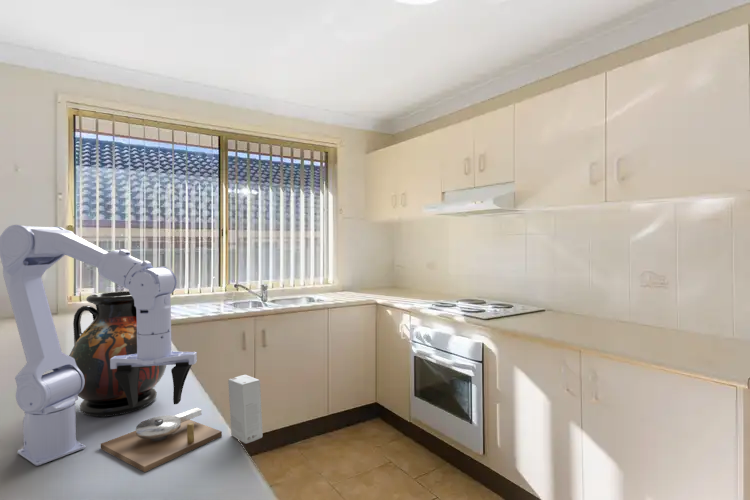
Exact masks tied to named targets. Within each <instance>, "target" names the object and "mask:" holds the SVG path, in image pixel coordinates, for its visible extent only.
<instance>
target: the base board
mask: <svg viewBox="0 0 750 500" xmlns="http://www.w3.org/2000/svg"><path fill="white" fill-rule="evenodd" d="M222 432H223V431H221V430H219V429H217V428H214V427H211V426H208V425H205V424H203V423H199V422H197V421H194V420H192V419H190V420H187V421H185V422H182V423H181V427H180V428H179V429H178V430H177V431H176V432H174V433H172V434H170V435H167V436H163V437H159V438H153V439H143V438H139V437H137V436H136V430H134V431H130V432H128V433H126V434H123V435H120V436H117V437H115V438H112V439H110V440H107V441H105V442H102V443H100V450H102V451H104V452H106V453H108V454H110V455H111V456H114V457H115V458H117V459H119V460H120V461H123V462H125V463H127V464H129V465H131V466H132V467H134V468H136V469H138V470H140V471H141V472H144V473H146V472H148V471H150V470H153V469H155V468H156V467H158V466H161V465H163V464H165V463H167V462H169V461H171V460H174V459H176V458H179V457H180V456H182V455H184V454H185V455H186V454H187V453H189V452H190V451H194V450H195V449H197V448H200V447H201V446H204V445H206V444H208V443H210V442H212V441H215V440H217V439H218V438H220V437H222V435H223V433H222Z"/></svg>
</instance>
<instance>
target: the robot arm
mask: <svg viewBox="0 0 750 500" xmlns="http://www.w3.org/2000/svg"><path fill="white" fill-rule="evenodd" d="M65 256H67V257H70V258H72V259H75V260H78V261H80V262H83V263H85V264H88V265H89V266H93V267H96V268H97V272H98V274H99V276H100V277H101V278H103V279H105V280H108V281H110V282H112V283H114V284H116V285H118V286H120V287H122V288H124V289H125V290H126V289H127V291H129V292H130V294H131V296H132V297H133V298H134V306H135V307H136V316H137V354H131V355H122V356H114V357H112V358H111V359H110V369H117V372H115V373H114V375H115V378H116V379H117V380H118V382H119V383H120V385H121V386H122V388H123V390H124V392H125V394H126V397H127V400H128V404H129V407H134V406H135V405H136V404H137V402H138V390H137V380H138V370H139V366H157V365H166V366H170V365H171V366H172V365H175V366H173V367H172V368H171V370H170V371H171V372H170V373H171V377H172V384H173V385H172V386H173V396H172V398H173V399H172V401H173V405H178V404H179V403H180V401H181V400H182V393H183V389H184V385H185V381H186V379H187V376H188V374H189V372H190V370H191V368H192V365H195V364H196V363H197V361H198V357H197V356H198V354H197V353H198V352H197V351H174V350H173V351H172V308H171V307H172V301H171V300H172V299H171V297H172V295H171V294H173V292H175V290H176V288H177V284H178V282H177V281H178V280H177V277H176V274H175V273H174V272H173V271H172V270H171V269H170V268H168V267H167V266H164V265H162V266H157V267H154V266H153V265H152V262H150V261H149V260H141V259H138V258H137V257H134V256H132V255H131V251H129V250H127V249H120V250H119V249H115V250H111V251H109V252H108V251H107V250H105V249H103V248H101V247H99V246H97V245H96V244H94V243H92V242H90V241H88V240H86V239H84V238H82V237H80V236H78V235H77V234H75V232H74V231H72V230H68V229H65V228H64V227H62V226H61V227H60V226H58V225H57V226H55V225H54V226H39V225H38V226H36V225H34V226H33V225H22V224H12V225H9V226H8V227H6V228H4V230H3V232H2V233H1V235H0V261H1V264H2V274H3V279H4V280H3V281H4V284H5V287H6V290H7V294H8V299H9V301H10V305H11V308H12V309H11V310H12V314H13V317H14V320H15V323H16V327H17V331H18V335H19V338H20V342H21V346H22V349H23V354H24V357H25V360H26V362H25V365H24V366H23V367H22V368H21V369H20V370H19V372H17V374H16V375H15V377H14V379H15V383H16V391H15V400H16V403H17V406H18V407H19V408H20V409H21V410H22V411H23V412H24V416H23V420H22V424H23V425H22V427H23V428H22V430H23V448H21V449H18V450H17V454H19V455H20V456H21V457H23V458H24V459H26V460H27V461H29V463H31V464H33V465H34V466H36V467H38V466H41V465H44V464H46V463H48V462H51V461H54V460H55V461H56V460H57V459H60V458H62V457H64V456H65V457H66V456H68V455H70V454H73V453H75V452H79V451H81V450H85V448H86V445H85V444H83V443H81V442H80V441H78V440H77V428H76V427H77V422H76V419H77V418H76V401H77V400H79V396H78V394H79V393H80V392H81V391H82V390H83V388H84V384H85V379H84V375H83V373H82V372H81V371H80V369H79V368H78V367H77V365H76V362H75V359H74V358H72V357H70V356H69V355H68V354H66V353H64V352H63V351H62V348H61V344H60V341H59V336H58V334H57V330H56V325H55V323H54V319H53V315H52V312H51V311H52V310H51V308H50V304H49V300H48V297H47V292H46V289H45V286H44V282H43V278H42V277H43V275H44V273H45V272H46V271H47V270H49V269H50V268H51V267H53V266H54V265H55V264H56V263H58V261H60V260H61V259H62V258H64V257H65ZM49 371H51V372H49ZM46 372H47V373H46Z"/></svg>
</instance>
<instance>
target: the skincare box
mask: <svg viewBox="0 0 750 500" xmlns="http://www.w3.org/2000/svg"><path fill="white" fill-rule="evenodd" d="M227 382H228V383H227V384H228V398H229V399H228V400H229V402H228V403H229V417H230V418H229V420H230V433H231V434H230V435H231V437H234V438H235V439H237V440H239V441H240V442H242V443H243V444H249V443H252V442H255V441H257V440H260V439H262V438H263V434H264V433H263V418H262V417H263V416H262V413H263V412H262V396H261V395H262V394H261V380H260V379H258V378H255V377H253V376H250V375H247V374H243V375H242V374H241V375H237V376H235V377H231V378H229V379H228V381H227Z"/></svg>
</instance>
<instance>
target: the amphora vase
mask: <svg viewBox="0 0 750 500" xmlns="http://www.w3.org/2000/svg"><path fill="white" fill-rule="evenodd" d="M85 300H86V302H88V303H90V304H93V305H95V308H94V306H91V305H82V306H80V307H79V308H78V309H77V310H76V312H74V315H73V322H72V325H73V327H72V328H73V345H74V346H73V347H72V349H71V350H70V351H71V352H70V353H69V355H68V356H70V357H72V358H74V359H75V362H76V365H77V367H78V368H79V369H80V371H81V372H82V373H83V375H84V379H85V384H84V388H83V390H82V391H81V392H80V393H79V394H78V398H80V399H82V401H81V402H80V404H79V410H80V412H81V413H83V414H84V415H87V416H91V417H101V418H102V417H113V416H119V415H120V416H121V415H124V414H128V413H131V412H134V411H138V410H140V409H142V408H145V407H146V406H148V405H150V404H151V403H152V402H154V401H155V400H156V399H157V393H158V392H157V391H156V389H155V388H154V387H156V386H157V384H158V383H159V382H160V381H161V380H162V378H163V376H164V373H165V372H166V369H167V368H166V367H167V365H157V366H139V370H138V380H137V390H138V402H137V404H136V405H135V406H134V407H129V404H128V400H127V397H126V394H125V392H124V390H123V388H122V386H121V385H120V383H119V382H118V380H117V379H116V378H115V375H114V373H115V372H117V369H110V359H111V358H112V357H114V356H122V355H131V354H137V316H136V307H135V306H134V298H133V297H132V296H131V294H130V292H129V290H126V291H111V292H103V293H102V292H101V293H94V294H91V295H88V296H87V297H86V298H85ZM86 311H87V312H89V313H90V314H91V316H92V320H93V321H92V322H91V323H90V325H89V326H88V327H86V328H85V330H84V331H83V332H82V325H81V324H82V323H81V320H82V315H83V313H84V312H86Z"/></svg>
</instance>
